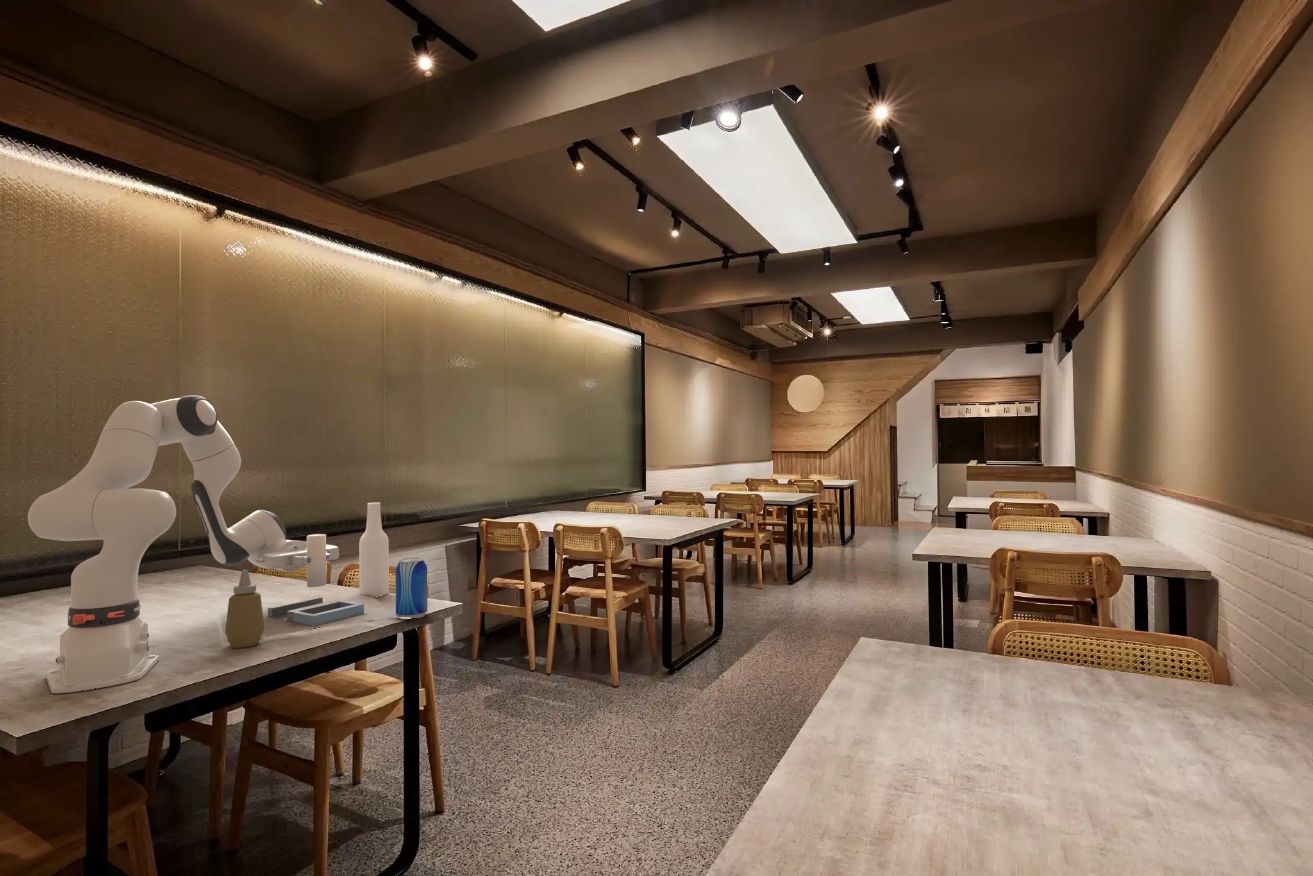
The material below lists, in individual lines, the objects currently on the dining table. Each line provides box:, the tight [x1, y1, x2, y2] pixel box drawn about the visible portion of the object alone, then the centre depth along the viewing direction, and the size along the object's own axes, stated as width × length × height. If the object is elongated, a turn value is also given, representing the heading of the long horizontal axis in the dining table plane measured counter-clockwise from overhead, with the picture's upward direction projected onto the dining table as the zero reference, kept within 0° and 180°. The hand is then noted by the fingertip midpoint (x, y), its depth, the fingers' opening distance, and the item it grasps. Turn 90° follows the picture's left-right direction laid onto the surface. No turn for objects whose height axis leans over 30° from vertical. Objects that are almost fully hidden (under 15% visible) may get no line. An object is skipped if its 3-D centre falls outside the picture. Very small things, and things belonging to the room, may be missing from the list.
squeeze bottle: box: [224, 569, 265, 649], centre depth 160 cm, size 8×8×18 cm
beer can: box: [394, 557, 429, 619], centre depth 185 cm, size 8×8×16 cm
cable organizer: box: [266, 596, 366, 630], centre depth 185 cm, size 22×15×4 cm
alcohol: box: [358, 501, 390, 598], centre depth 214 cm, size 9×9×30 cm
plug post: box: [306, 533, 327, 588], centre depth 185 cm, size 5×5×14 cm
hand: (318, 558), depth 184 cm, fingers closed on plug post, 5 cm apart
